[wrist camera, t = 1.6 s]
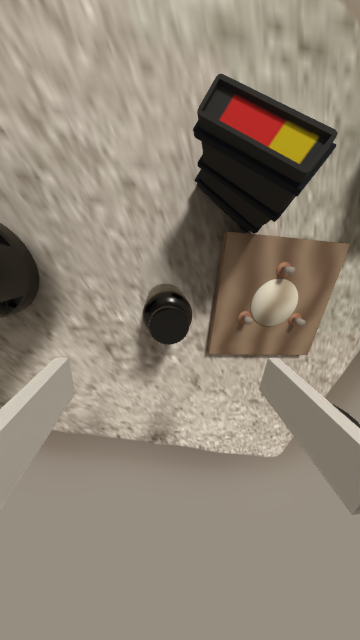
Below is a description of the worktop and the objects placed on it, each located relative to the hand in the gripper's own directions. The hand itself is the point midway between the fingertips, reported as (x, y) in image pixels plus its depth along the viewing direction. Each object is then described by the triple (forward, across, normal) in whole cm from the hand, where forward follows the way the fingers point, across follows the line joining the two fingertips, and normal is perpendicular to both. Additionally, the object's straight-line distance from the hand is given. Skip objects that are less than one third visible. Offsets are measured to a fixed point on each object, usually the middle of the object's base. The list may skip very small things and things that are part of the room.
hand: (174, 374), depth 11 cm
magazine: (+21, +8, +17) cm, 28 cm away
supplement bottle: (+21, 0, 0) cm, 21 cm away
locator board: (+20, +20, +1) cm, 29 cm away
